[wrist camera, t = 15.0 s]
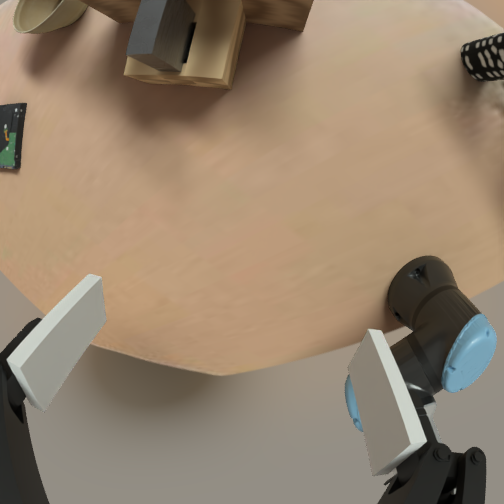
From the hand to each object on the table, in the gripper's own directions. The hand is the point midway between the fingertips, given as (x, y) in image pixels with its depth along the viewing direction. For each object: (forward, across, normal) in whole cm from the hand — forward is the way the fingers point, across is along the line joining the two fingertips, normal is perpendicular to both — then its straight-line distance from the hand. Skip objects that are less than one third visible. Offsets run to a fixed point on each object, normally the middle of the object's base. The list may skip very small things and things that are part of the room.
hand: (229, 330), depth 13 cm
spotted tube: (+35, -36, -37) cm, 62 cm away
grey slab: (+32, +14, -20) cm, 40 cm away
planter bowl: (+35, +44, -34) cm, 66 cm away
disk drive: (+35, +57, -6) cm, 68 cm away
